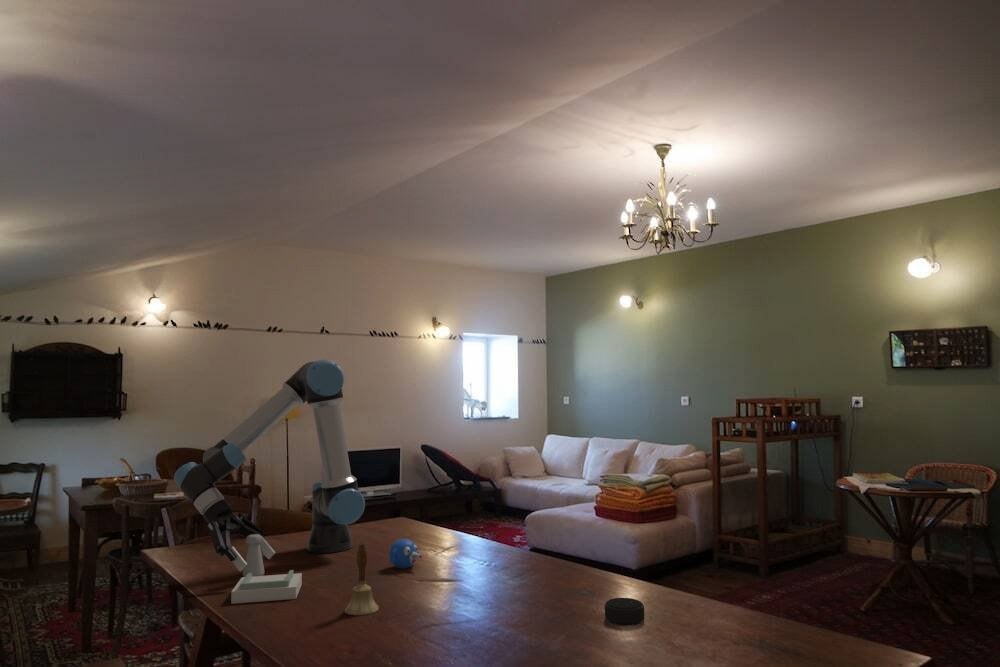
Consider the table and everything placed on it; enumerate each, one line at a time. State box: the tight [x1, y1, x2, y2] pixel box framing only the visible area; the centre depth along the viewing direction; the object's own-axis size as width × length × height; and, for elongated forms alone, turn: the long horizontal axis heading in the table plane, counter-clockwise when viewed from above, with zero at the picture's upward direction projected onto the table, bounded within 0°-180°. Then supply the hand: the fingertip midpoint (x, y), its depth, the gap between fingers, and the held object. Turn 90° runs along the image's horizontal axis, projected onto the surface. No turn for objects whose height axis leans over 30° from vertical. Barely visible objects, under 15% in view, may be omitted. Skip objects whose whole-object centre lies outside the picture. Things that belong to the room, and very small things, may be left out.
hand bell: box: [344, 542, 380, 616], centre depth 167 cm, size 8×8×16 cm
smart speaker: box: [604, 597, 646, 626], centre depth 155 cm, size 9×9×4 cm
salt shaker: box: [242, 534, 265, 577], centre depth 195 cm, size 6×6×13 cm
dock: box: [230, 569, 303, 604], centre depth 182 cm, size 16×14×4 cm
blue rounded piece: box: [388, 538, 423, 569], centre depth 205 cm, size 12×12×8 cm
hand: (258, 561), depth 195 cm, fingers open, 13 cm apart
